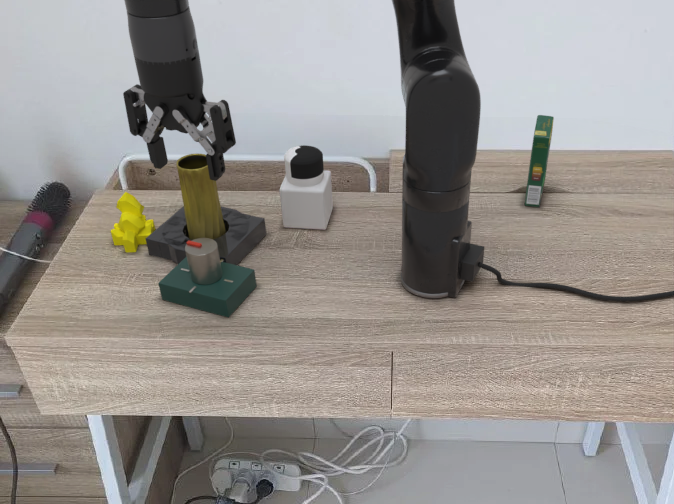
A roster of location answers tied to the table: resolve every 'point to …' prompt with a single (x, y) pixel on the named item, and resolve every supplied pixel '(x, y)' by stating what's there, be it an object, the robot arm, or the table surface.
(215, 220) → the vase
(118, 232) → the yellow faceted cluster
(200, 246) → the grey rotary knob
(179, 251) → the square flange with hole
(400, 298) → the table surface
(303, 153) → the medicine bottle
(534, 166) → the coffee box
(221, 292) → the panel
